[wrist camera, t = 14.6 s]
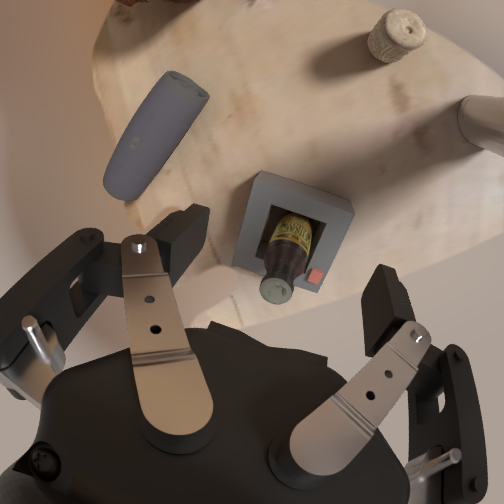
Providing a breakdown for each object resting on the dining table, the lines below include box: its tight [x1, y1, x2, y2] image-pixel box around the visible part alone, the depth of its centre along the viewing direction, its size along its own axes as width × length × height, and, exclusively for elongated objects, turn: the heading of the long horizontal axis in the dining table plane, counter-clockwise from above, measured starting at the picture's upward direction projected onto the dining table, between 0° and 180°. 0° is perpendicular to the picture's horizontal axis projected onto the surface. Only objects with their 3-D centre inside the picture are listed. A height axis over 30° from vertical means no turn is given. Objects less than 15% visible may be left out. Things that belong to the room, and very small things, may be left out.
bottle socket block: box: [232, 171, 355, 293], centre depth 47 cm, size 16×16×7 cm
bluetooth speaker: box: [103, 71, 210, 201], centre depth 42 cm, size 23×9×10 cm, turn 139°
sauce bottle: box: [260, 212, 312, 304], centre depth 42 cm, size 6×6×20 cm
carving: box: [367, 8, 427, 63], centre depth 26 cm, size 6×8×12 cm
